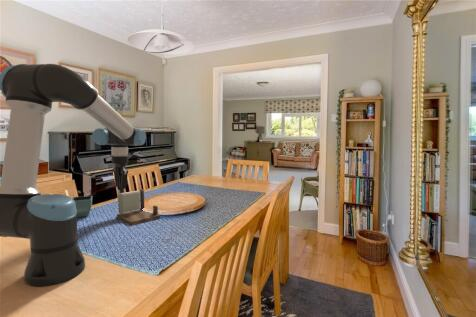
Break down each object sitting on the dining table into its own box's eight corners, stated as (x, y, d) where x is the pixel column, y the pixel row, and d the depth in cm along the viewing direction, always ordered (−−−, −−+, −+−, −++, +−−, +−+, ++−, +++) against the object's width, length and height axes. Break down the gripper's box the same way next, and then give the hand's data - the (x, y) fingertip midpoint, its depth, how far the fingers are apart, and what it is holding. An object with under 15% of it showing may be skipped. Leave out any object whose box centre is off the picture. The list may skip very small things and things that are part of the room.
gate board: (130, 225, 121) (130, 198, 120) (116, 217, 132) (116, 192, 131) (160, 218, 132) (160, 193, 130) (145, 210, 143) (144, 188, 141)
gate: (138, 208, 139) (138, 190, 138) (140, 209, 137) (139, 191, 136) (118, 212, 131) (118, 193, 130) (120, 213, 130) (119, 194, 129)
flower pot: (73, 213, 135) (73, 196, 135) (93, 212, 139) (92, 195, 138) (71, 219, 127) (70, 201, 127) (91, 217, 131) (91, 199, 130)
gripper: (133, 156, 130) (134, 202, 132) (122, 154, 139) (123, 197, 141) (117, 156, 125) (118, 205, 127) (107, 154, 134) (108, 200, 136)
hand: (121, 201), depth 134 cm, fingers closed
